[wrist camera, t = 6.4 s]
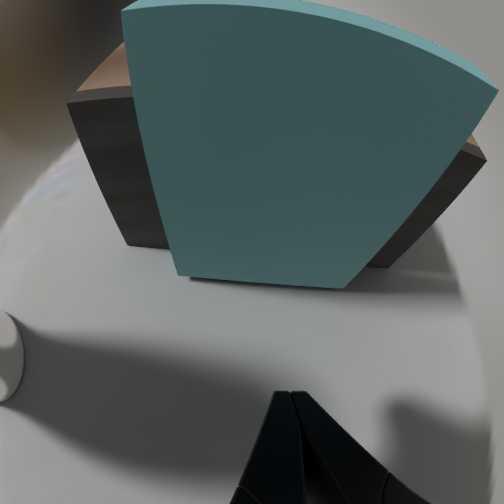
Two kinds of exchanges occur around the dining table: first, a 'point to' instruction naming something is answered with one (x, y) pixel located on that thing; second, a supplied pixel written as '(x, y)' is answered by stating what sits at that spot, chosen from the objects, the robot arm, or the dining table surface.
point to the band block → (139, 181)
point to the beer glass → (10, 356)
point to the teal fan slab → (290, 132)
